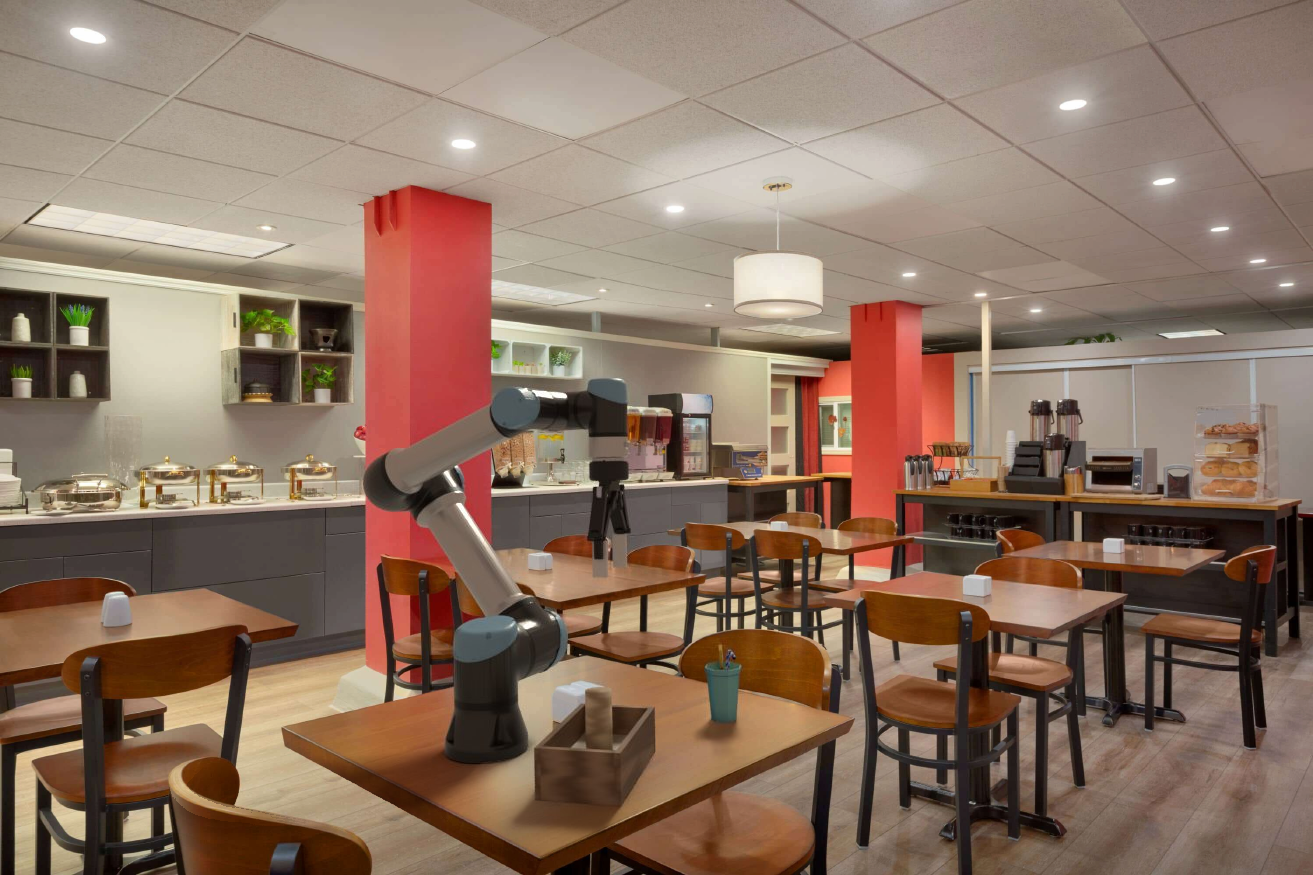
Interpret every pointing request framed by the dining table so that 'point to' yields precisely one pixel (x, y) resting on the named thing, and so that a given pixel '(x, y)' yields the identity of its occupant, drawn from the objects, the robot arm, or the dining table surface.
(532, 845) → the dining table surface
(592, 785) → the crate
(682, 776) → the dining table surface
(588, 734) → the peg
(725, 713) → the cup
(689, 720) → the dining table surface
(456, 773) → the dining table surface
